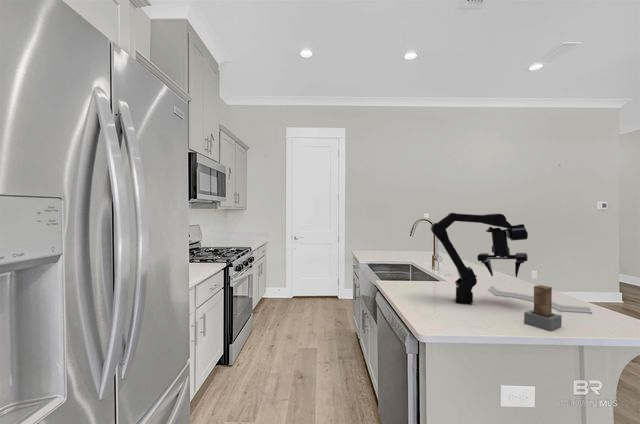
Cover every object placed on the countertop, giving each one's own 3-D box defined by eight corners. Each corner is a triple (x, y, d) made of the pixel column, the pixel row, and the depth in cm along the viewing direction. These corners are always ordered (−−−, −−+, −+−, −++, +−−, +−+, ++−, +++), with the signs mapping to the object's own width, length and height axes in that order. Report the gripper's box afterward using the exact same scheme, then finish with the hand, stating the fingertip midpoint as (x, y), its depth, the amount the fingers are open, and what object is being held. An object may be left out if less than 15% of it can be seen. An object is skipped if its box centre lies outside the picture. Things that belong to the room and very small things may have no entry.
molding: (595, 313, 122) (595, 306, 122) (583, 318, 116) (583, 311, 116) (492, 290, 159) (492, 284, 159) (479, 292, 153) (479, 287, 153)
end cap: (524, 323, 110) (524, 312, 110) (535, 319, 114) (535, 308, 114) (550, 331, 103) (550, 319, 103) (561, 326, 107) (561, 315, 107)
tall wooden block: (533, 321, 109) (533, 286, 109) (538, 319, 111) (539, 284, 111) (546, 324, 106) (546, 288, 106) (551, 322, 108) (551, 287, 108)
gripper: (526, 238, 132) (530, 273, 132) (480, 240, 144) (483, 272, 143) (524, 241, 123) (529, 278, 123) (475, 243, 135) (479, 277, 135)
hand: (504, 276), depth 131 cm, fingers open, 9 cm apart
